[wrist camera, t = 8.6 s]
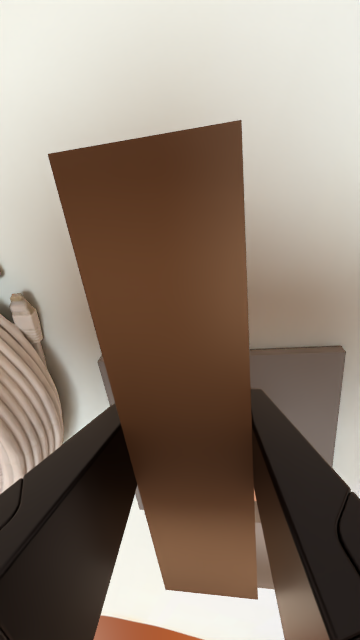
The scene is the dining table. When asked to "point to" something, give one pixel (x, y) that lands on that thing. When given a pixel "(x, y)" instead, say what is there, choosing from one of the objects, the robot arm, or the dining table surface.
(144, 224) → the brown wooden plank
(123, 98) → the dining table surface
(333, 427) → the mat
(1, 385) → the cable
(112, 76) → the dining table surface
